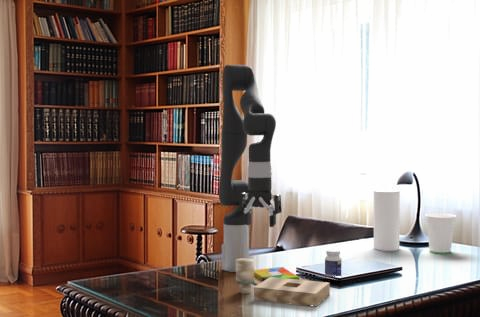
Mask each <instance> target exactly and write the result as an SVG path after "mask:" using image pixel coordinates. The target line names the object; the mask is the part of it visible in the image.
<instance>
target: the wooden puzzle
mask: <svg viewBox="0 0 480 317" xmlns="http://www.w3.org/2000/svg"><path fill="white" fill-rule="evenodd" d="M270 277H276V278H286V279H297V280H307V281H310V280H309V279H307V278H302V277H301V276H298V275H296V274H295V273H293V272H292V271H290V270H288V269H287V268H285V267H284V266H278V267H272V268H271V267H270V268H269V267H268V268H261V269H254V283H253V284H254V285H255V286H256V285H258V284H260V283H261V282H263V281H265V280H266V279H268V278H270Z"/></svg>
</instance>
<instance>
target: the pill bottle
mask: <svg viewBox="0 0 480 317" xmlns="http://www.w3.org/2000/svg"><path fill="white" fill-rule="evenodd" d="M325 253H326V256H325V258H324V277H325V276H327V277H333V276H334V277H335V276H341V277H342V258H341V256H340V255H341V250H339V249H326V252H325Z"/></svg>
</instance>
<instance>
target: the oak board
mask: <svg viewBox="0 0 480 317" xmlns="http://www.w3.org/2000/svg"><path fill="white" fill-rule="evenodd" d="M330 284H331V283H330V282H327V281H325V282H324V281H315V280H309V281H307V280H297V279H286V278H276V277H270V278H268V279H266V280H265V281H263V282H261V283H260V284H258V285H256V284H255V286H254V287H253V300H254V301H259V300H262V301H261V302H268V301H269V303H270V302H271V303H276V302H277V303H279V304H285V303H291V304H290V305H294V304H297V305H296V306H303V305H313V306H316V305H318V304H319V303H320V302H321V301H322V302H323V301H325V300H326V299H327V298H328V297H329V296H330V294H331V293H330V289H331V288H330V287H331V286H330ZM325 298H326V299H325ZM324 299H325V300H324ZM322 302H321V303H322ZM277 303H276V304H277ZM321 303H320V304H321ZM320 304H319V305H320ZM319 305H318V306H319Z"/></svg>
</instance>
